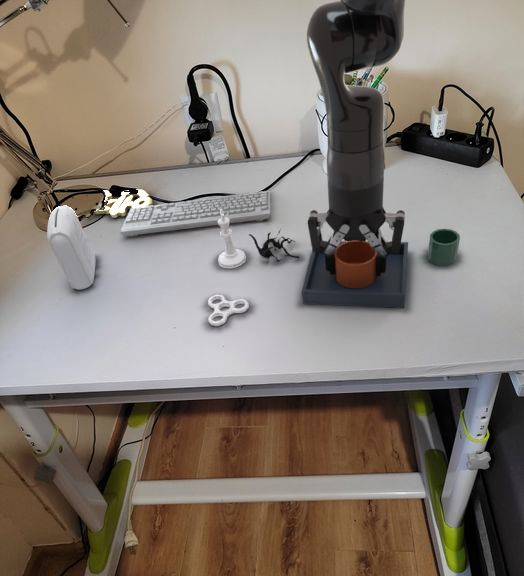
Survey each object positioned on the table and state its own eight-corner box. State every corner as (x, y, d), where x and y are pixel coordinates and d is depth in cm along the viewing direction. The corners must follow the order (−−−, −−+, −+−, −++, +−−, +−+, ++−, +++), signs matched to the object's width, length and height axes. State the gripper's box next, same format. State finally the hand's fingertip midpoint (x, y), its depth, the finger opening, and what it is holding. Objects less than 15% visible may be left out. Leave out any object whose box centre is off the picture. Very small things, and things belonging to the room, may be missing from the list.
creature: (278, 242, 93) (244, 254, 89) (280, 214, 90) (245, 225, 85) (308, 259, 88) (273, 272, 84) (311, 230, 85) (275, 242, 81)
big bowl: (378, 263, 82) (378, 240, 79) (375, 289, 78) (375, 265, 74) (337, 262, 84) (337, 239, 80) (332, 287, 79) (331, 264, 76)
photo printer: (75, 260, 96) (46, 201, 87) (97, 255, 96) (71, 196, 88) (71, 293, 89) (39, 233, 80) (95, 287, 89) (66, 227, 80)
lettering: (161, 191, 110) (159, 187, 110) (145, 216, 104) (144, 212, 103) (59, 195, 116) (57, 191, 115) (38, 219, 109) (36, 215, 108)
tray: (407, 254, 83) (408, 241, 82) (404, 308, 75) (405, 295, 73) (315, 252, 87) (314, 240, 86) (302, 303, 79) (301, 291, 77)
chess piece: (221, 271, 87) (209, 221, 80) (216, 256, 91) (203, 206, 84) (249, 264, 88) (239, 213, 81) (242, 249, 91) (232, 198, 84)
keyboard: (270, 192, 103) (268, 183, 102) (271, 221, 96) (269, 212, 95) (131, 210, 106) (128, 201, 104) (122, 239, 99) (119, 230, 98)
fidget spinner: (208, 299, 82) (207, 295, 82) (247, 292, 82) (246, 288, 82) (209, 328, 77) (208, 324, 77) (250, 321, 77) (250, 317, 77)
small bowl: (455, 249, 83) (459, 228, 80) (456, 266, 80) (460, 245, 77) (427, 249, 84) (430, 228, 81) (427, 265, 81) (429, 244, 78)
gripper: (298, 188, 68) (307, 286, 79) (410, 187, 64) (402, 289, 76) (307, 161, 72) (314, 257, 84) (411, 159, 69) (403, 259, 81)
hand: (355, 272), depth 80 cm, fingers closed on big bowl, 6 cm apart
